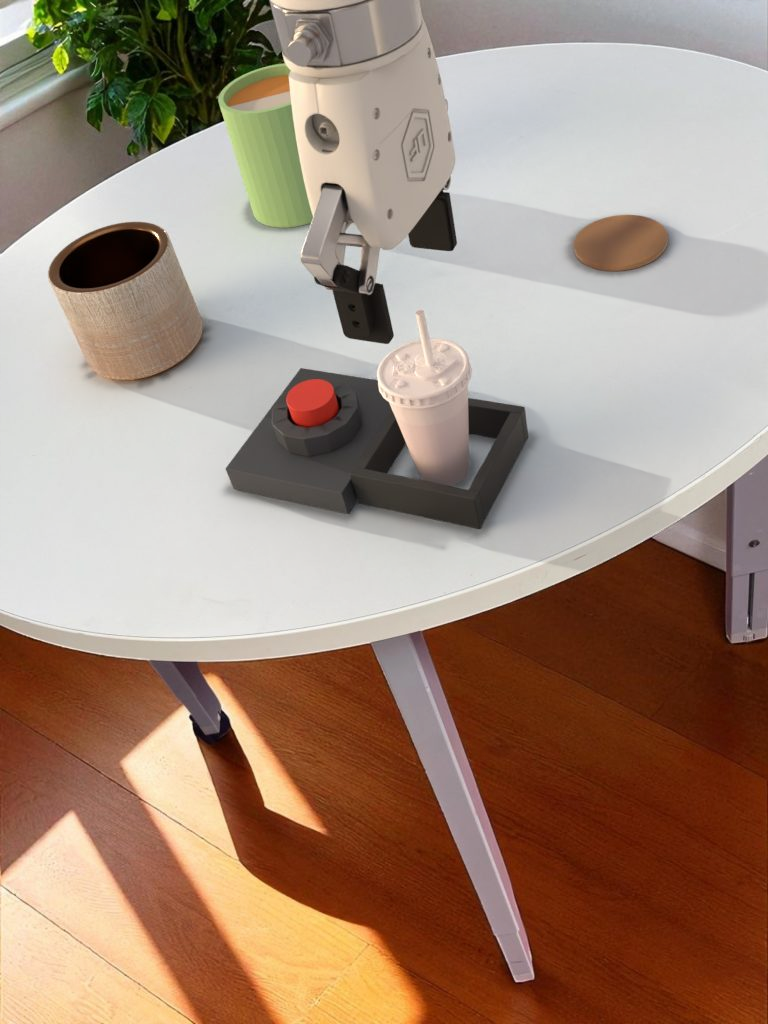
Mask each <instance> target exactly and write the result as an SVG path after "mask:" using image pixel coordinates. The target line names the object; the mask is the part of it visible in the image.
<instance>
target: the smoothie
mask: <svg viewBox="0 0 768 1024" xmlns="http://www.w3.org/2000/svg"><path fill="white" fill-rule="evenodd" d="M415 317H416V321H417V325H418V326H417V327H418V332H419V336H420V339H416V340H411V341H409V342H406V343H403V344H402V345H400V346H398V347H396V348H394V349H393V350H391V351H390V352H389V353H388V354H387V355H385V356H384V358H383V359H382V360H381V361H380V363H379V365H378V367H377V371H376V380H378V387H379V392H380V393H381V395H382V396H383V398H384V399H385V400H387V401H388V402H389V403H390V406H391V408H392V411H393V413H394V415H395V418H396V420H397V423H398V425H399V427H400V430H401V432H402V434H403V437H404V439H405V442H406V444H405V445H406V446H407V449H408V451H409V454H410V456H411V458H412V460H413V463H414V465H415V468H416V470H417V472H418V475H419V478H420V480H423V481H428V482H433V483H438V484H443V485H448V486H453V487H454V486H455V485H458V484H459V483H461V482H462V481H463V480H465V479H466V477H467V476H468V474H469V473H470V434H469V421H468V398H469V383H470V381H471V379H472V374H473V368H472V366H471V362H470V357H469V354H468V352H467V351H466V350H465V348H464V347H462V346H461V345H459V344H458V343H456V342H454V341H451V340H448V339H443V338H433V337H431V338H430V334H429V328H428V324H427V319H426V314H425V311H424V310H423V309H418V310H417V311H415Z"/></svg>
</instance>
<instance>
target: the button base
mask: <svg viewBox="0 0 768 1024" xmlns="http://www.w3.org/2000/svg"><path fill="white" fill-rule="evenodd" d="M312 379H321V380H325V381H327V382H329V383H330V384H331V385H332V386H333V388H334V392H335V395H336V398H337V402H338V405H339V411H338V414H337V415H336V417H335V418H333V419H332V420H330V421H328V422H327V423H325V424H323V425H320V426H315V427H310V428H306V427H300V426H297V425H296V424H295V423H294V422H293V420H292V417H291V414H290V411H289V408H288V405H287V401H286V398H287V395H288V393H289V391H290V390H291V389H292V388H293V387H294V386H296V385H297V384H299V383H301V382H304V381H307V380H312ZM391 410H392V408H391V406H390V403H389V402H388V401H387V400H385V399H384V398H383V396H382V395H381V393H380V392H379V387H378V380H377V379H373V378H366V377H361V376H360V377H359V376H355V375H348V374H341V373H335V372H328V371H323V370H315V369H311V368H303V367H300V368H299V370H298V371H297V372H296V374H295V375H294V376H293V377H292V379H291V380H290V382H289V383H288V384H287V386H286V387H285V389H284V390H283V391H282V392H281V394H280V395H279V397H278V398H277V399H276V400H275V402H274V403H273V404H272V405H271V407H270V409H269V410H268V411H267V412H266V413H265V414H264V416H263V417H262V419H261V420H260V422H259V423H258V424H257V425H256V427H255V429H253V431H252V432H251V434H250V435H249V436H248V438H247V439H246V440H245V442H244V443H243V445H242V446H241V447H240V448H239V449H238V451H237V453H236V454H235V455H234V456H233V458H232V459H231V460H230V462H228V464H227V465H226V467H225V471H226V473H227V474H226V475H227V476H228V478H229V481H230V484H231V487H232V489H233V490H236V491H241V492H245V493H250V494H255V495H260V496H264V497H268V498H273V499H277V500H282V501H287V502H290V503H291V502H292V503H295V504H301V505H305V506H309V507H314V508H317V509H318V508H319V509H323V510H327V511H332V512H336V513H340V514H345V515H348V514H349V513H350V512H351V511H352V509H353V507H354V506H355V504H356V503H357V502H358V500H357V497H356V493H355V490H354V487H353V483H352V480H351V477H350V473H351V471H352V470H353V468H354V467H355V465H356V464H357V462H358V461H359V459H360V458H361V456H362V454H363V453H364V451H365V450H366V448H367V447H368V445H369V444H370V442H371V441H372V439H373V438H374V436H375V434H376V433H377V431H378V430H379V428H380V427H381V425H382V424H383V422H384V421H385V419H386V417H387V416H388V414H389V413H390V411H391Z"/></svg>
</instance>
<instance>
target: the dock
mask: <svg viewBox="0 0 768 1024" xmlns="http://www.w3.org/2000/svg"><path fill="white" fill-rule="evenodd" d="M526 414H527V413H526V407H525V406H522V405H515V404H510V403H509V404H508V403H503V402H497V401H490V400H485V399H477V398H473V397H468V421H469V435H473V436H479V437H484V438H490V439H495V440H494V442H493V444H492V446H491V447H490V449H489V451H488V453H487V454H486V456H485V458H484V460H483V461H482V464H481V465H480V467H479V468H478V471H477V473H476V475H475V476H474V478H473V481H472V482H471V484H470V485H469V488H464V487H458V486H454V485H453V486H448V485H443V484H438V483H433V482H428V481H423V480H422V479H418V478H413V477H407V476H402V475H399V474H393V473H389V471H390V470H391V468H392V467H393V465H394V463H395V462H396V460H397V459H398V456H399V455H400V454H401V452H402V451H403V449H404V447H405V445H407V444H406V442H405V439H404V437H403V434H402V432H401V430H400V427H399V425H398V423H397V420H396V418H395V415H394V413H393V411H392V410H391V411H390V413H389V414H388V416H387V417H386V419H385V421H384V422H383V424H382V425H381V427H380V428H379V430H378V431H377V433H376V434H375V436H374V438H373V439H372V441H371V442H370V444H369V445H368V447H367V448H366V450H365V451H364V453H363V454H362V456H361V458H360V459H359V461H358V462H357V464H356V465H355V467H354V468H353V470H352V471H351V473H350V477H351V480H352V483H353V487H354V490H355V493H356V497H357V503H358V504H359V505H360V504H361V505H366V506H370V507H375V508H380V509H384V510H390V511H394V512H398V513H402V514H408V515H412V516H417V517H422V518H426V519H431V520H436V521H440V522H445V523H449V524H455V525H459V526H464V527H468V528H474V529H477V530H478V529H479V530H481V528H482V527H483V525H484V523H485V521H486V519H487V518H488V516H489V513H490V512H491V509H492V508H493V507H494V504H495V502H496V501H497V498H498V496H499V494H501V493H500V492H501V491H502V489H503V487H504V485H505V483H506V481H507V479H508V477H509V476H510V474H511V472H512V470H513V468H514V466H515V464H516V462H517V460H518V458H519V457H520V455H521V452H522V451H523V449H524V447H525V445H526V442H527V441H528V439H529V431H528V430H529V429H528V422H527V415H526Z"/></svg>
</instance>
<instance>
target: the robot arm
mask: <svg viewBox="0 0 768 1024" xmlns="http://www.w3.org/2000/svg"><path fill="white" fill-rule="evenodd" d="M268 1H269V6H270V10H271V13H272V17H273V22H274V25H275V30H276V35H277V38H278V41H279V46H280V50H281V53H282V58H283V63H285V64H286V66H287V67H288V68H289V69H290V70H291V71H290V73H289V85H290V95H291V105H292V114H293V121H294V128H295V135H296V141H297V147H298V153H299V159H300V164H301V169H302V174H303V179H304V183H305V188H306V192H307V196H308V200H309V204H310V208H311V211H312V215H313V219H312V222H311V223H310V224H309V228H308V231H307V233H306V237H305V240H304V243H303V245H302V249H301V251H300V263H301V264H302V265H303V266H304V268H305V269H306V270H307V272H309V274H311V276H312V277H313V280H314V282H315V284H316V285H319V286H322V287H324V288H325V289H326V290H329V291H332V294H333V299H334V303H335V306H336V310H337V314H338V317H339V322H340V325H341V330H342V333H343V335H344V336H345V337H346V338H347V339H350V340H356V341H361V342H362V341H363V342H370V343H376V344H383V345H388V344H390V343H391V342H392V340H393V339H394V337H395V334H394V328H393V325H392V324H393V323H392V319H391V315H390V310H389V306H388V302H387V296H386V292H385V288H384V287H385V286H384V284H383V283H379V282H376V281H377V273H378V267H379V259H380V251H381V249H382V250H384V251H390V250H394V249H395V248H397V247H398V246H399V245H400V244H401V243H402V242H404V240H405V239H406V238H407V237H408V241H409V245H410V246H411V247H412V248H415V249H425V250H431V251H432V250H434V251H441V252H452V251H454V249H455V248H456V246H457V245H458V239H457V233H456V226H455V220H454V213H453V206H452V200H451V194H450V192H447V191H448V190H449V189H450V186H451V183H452V175H453V172H454V169H455V165H456V154H455V152H456V151H455V145H454V139H453V134H452V127H451V121H450V117H449V103H448V99H447V98H446V96H445V92H444V87H443V81H442V77H441V74H440V69H439V65H438V61H437V57H436V53H435V49H434V47H433V43H432V40H431V36H430V34H429V30H428V28H427V25H426V22H425V20H424V18H423V17H424V16H423V14H422V8H421V2H420V0H268ZM352 224H354V225H355V226H356V228H357V230H358V232H359V233H360V234H355V233H347V232H346V231H347V230H348V229H349V227H350V226H351V225H352ZM347 247H355V248H361V254H360V261H359V267H358V268H359V269H356V268H353V267H351V266H349V265H345V258H346V257H345V256H346V248H347Z"/></svg>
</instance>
